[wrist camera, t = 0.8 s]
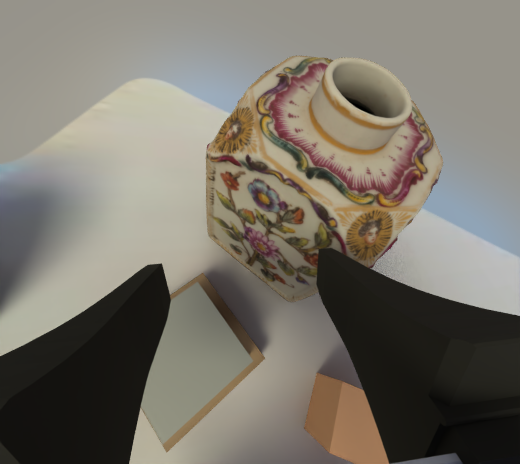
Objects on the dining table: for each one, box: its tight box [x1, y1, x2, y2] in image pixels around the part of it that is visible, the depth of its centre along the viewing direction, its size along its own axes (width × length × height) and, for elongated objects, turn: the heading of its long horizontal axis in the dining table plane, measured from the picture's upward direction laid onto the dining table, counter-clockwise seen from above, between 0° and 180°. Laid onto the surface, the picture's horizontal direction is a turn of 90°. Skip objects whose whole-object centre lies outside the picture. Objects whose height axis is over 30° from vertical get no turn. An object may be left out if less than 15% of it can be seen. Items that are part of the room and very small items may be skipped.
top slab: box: [141, 282, 253, 445], centre depth 18 cm, size 7×7×3 cm
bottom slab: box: [141, 273, 265, 452], centre depth 21 cm, size 9×9×3 cm
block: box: [304, 373, 389, 464], centre depth 20 cm, size 4×4×5 cm
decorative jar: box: [206, 56, 443, 302], centre depth 20 cm, size 12×12×18 cm
